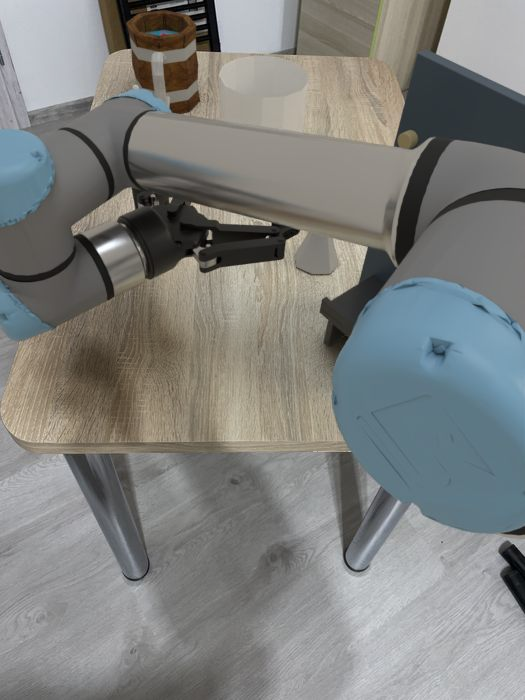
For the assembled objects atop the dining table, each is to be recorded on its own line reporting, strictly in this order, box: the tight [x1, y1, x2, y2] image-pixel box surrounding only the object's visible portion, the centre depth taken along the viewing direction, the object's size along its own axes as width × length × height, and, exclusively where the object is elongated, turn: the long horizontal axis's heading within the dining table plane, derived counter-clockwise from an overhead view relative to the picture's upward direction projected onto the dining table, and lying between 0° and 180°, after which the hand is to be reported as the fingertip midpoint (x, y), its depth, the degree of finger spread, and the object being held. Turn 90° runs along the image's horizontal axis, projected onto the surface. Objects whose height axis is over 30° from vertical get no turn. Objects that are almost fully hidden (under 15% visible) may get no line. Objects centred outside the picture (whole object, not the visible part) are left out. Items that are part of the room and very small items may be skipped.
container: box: [218, 54, 310, 133], centre depth 93 cm, size 14×14×18 cm
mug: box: [125, 9, 201, 114], centre depth 108 cm, size 20×14×15 cm
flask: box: [294, 232, 340, 275], centre depth 82 cm, size 7×7×10 cm
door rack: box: [319, 49, 525, 348], centre depth 61 cm, size 14×16×36 cm
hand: (277, 183), depth 68 cm, fingers open, 13 cm apart
